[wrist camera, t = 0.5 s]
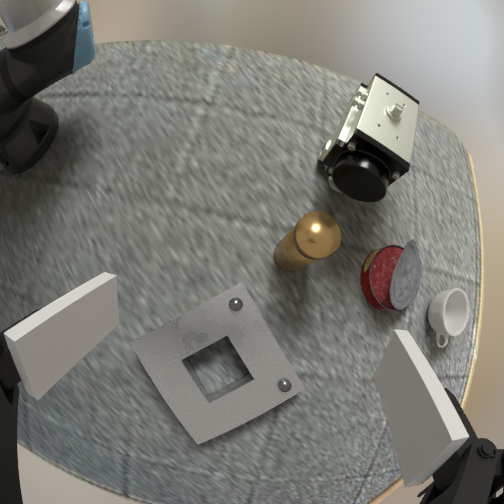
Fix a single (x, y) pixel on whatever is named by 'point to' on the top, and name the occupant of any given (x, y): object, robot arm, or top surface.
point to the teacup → (448, 314)
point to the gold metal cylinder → (308, 241)
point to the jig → (202, 335)
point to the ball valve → (372, 141)
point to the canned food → (392, 276)
